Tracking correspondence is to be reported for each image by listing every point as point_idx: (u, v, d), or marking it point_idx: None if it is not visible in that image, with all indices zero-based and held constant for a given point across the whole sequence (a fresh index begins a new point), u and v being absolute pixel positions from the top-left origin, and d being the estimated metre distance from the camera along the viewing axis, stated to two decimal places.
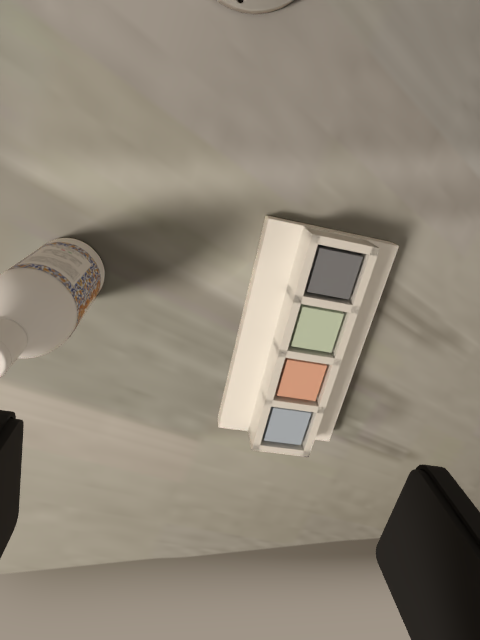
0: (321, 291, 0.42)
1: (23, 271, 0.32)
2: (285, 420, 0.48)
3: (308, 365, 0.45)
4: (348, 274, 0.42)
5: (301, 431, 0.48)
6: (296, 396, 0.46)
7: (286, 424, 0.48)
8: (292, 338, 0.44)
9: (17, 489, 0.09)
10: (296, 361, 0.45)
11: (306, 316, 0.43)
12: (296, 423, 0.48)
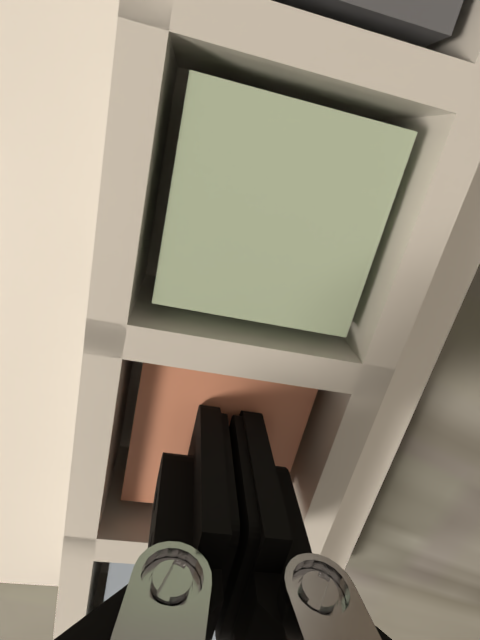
0: None
1: None
2: None
3: (240, 382, 0.11)
4: None
5: None
6: None
7: None
8: None
9: None
10: None
11: (216, 135, 0.08)
12: None
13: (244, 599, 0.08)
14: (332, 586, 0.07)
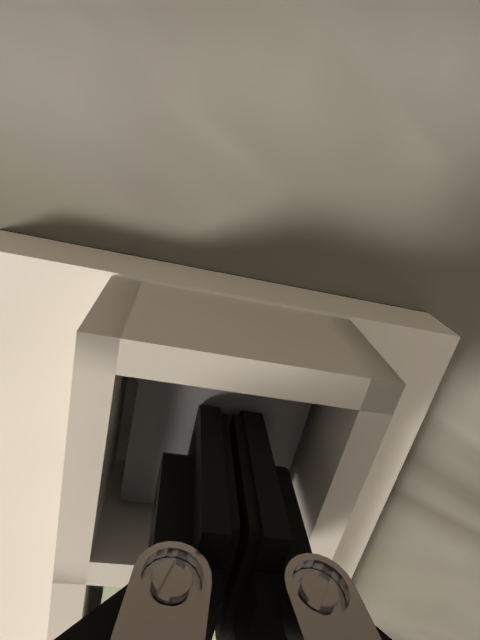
0: None
1: None
2: None
3: None
4: None
5: None
6: None
7: None
8: None
9: None
10: None
11: None
12: None
13: (244, 599, 0.08)
14: (332, 585, 0.07)
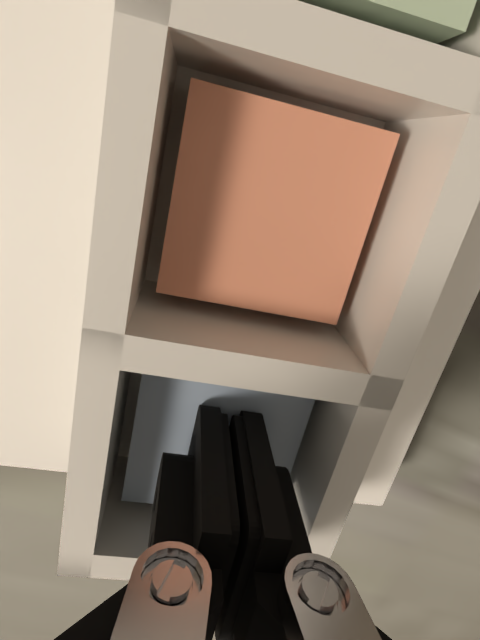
0: None
1: None
2: None
3: (306, 123, 0.09)
4: None
5: (279, 464, 0.12)
6: (249, 300, 0.10)
7: None
8: None
9: None
10: (242, 94, 0.08)
11: None
12: None
13: (244, 599, 0.08)
14: (332, 586, 0.07)
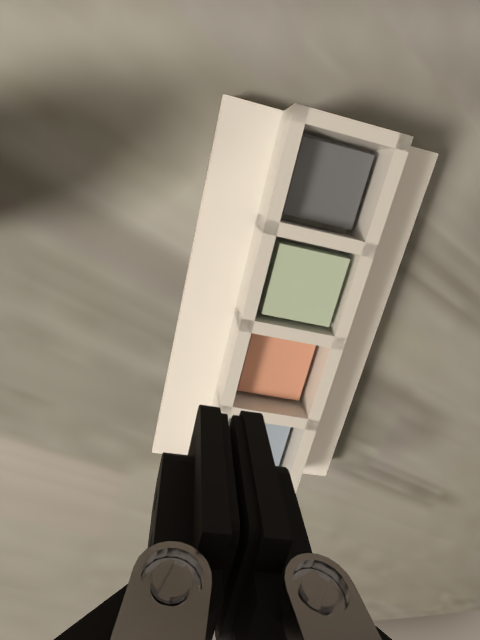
0: (306, 213, 0.26)
1: None
2: None
3: (287, 341, 0.28)
4: (350, 185, 0.25)
5: (278, 450, 0.31)
6: (268, 392, 0.29)
7: None
8: (263, 301, 0.26)
9: None
10: None
11: (286, 261, 0.25)
12: (269, 436, 0.31)
13: (244, 599, 0.08)
14: (332, 586, 0.07)
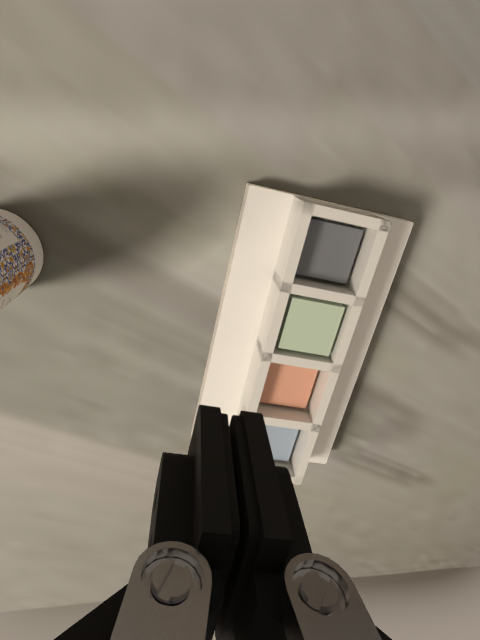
0: (312, 273, 0.34)
1: None
2: (269, 431, 0.39)
3: None
4: (345, 252, 0.34)
5: (289, 445, 0.40)
6: (282, 403, 0.38)
7: (271, 437, 0.40)
8: (279, 338, 0.35)
9: None
10: None
11: (297, 310, 0.34)
12: (282, 435, 0.40)
13: (244, 599, 0.08)
14: (332, 585, 0.07)
